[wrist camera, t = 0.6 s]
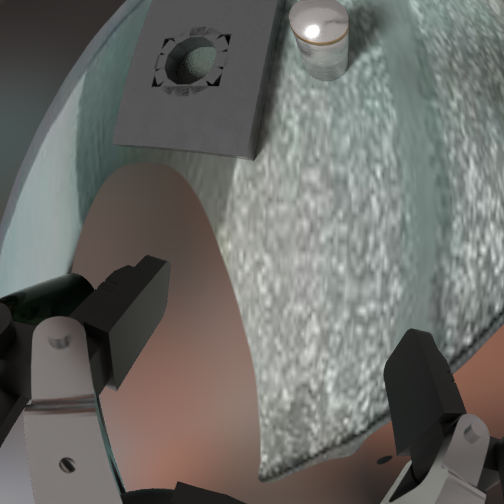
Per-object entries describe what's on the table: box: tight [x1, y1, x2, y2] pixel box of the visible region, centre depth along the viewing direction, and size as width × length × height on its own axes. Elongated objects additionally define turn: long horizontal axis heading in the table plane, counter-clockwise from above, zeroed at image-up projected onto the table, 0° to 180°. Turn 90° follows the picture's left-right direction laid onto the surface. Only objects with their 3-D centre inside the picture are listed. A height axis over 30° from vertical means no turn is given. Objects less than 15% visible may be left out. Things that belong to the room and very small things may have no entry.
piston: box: [289, 0, 349, 81], centre depth 24 cm, size 5×5×10 cm
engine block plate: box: [112, 0, 285, 160], centre depth 31 cm, size 22×18×3 cm
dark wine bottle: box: [0, 273, 94, 326], centre depth 28 cm, size 10×10×33 cm
